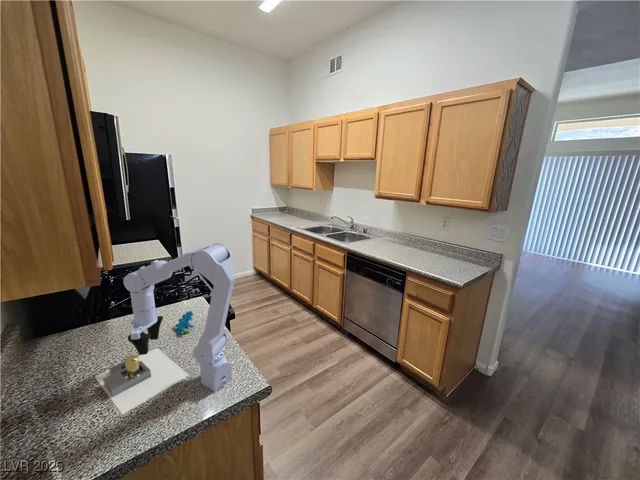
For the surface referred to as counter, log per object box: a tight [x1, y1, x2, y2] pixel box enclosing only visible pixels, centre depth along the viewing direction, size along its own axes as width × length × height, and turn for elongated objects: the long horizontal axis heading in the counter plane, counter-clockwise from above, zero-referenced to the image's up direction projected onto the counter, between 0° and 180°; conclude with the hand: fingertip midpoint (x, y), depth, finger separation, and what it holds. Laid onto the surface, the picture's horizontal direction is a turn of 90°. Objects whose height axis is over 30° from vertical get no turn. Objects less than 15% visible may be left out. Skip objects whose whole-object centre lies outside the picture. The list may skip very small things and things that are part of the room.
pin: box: [124, 354, 140, 379], centre depth 80 cm, size 3×3×7 cm
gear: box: [173, 310, 195, 335], centre depth 108 cm, size 11×6×10 cm
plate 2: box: [103, 361, 151, 397], centre depth 80 cm, size 7×10×2 cm
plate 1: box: [108, 360, 151, 390], centre depth 82 cm, size 12×7×2 cm, turn 55°
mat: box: [94, 348, 190, 415], centre depth 82 cm, size 22×18×1 cm
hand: (149, 346), depth 84 cm, fingers open, 7 cm apart
